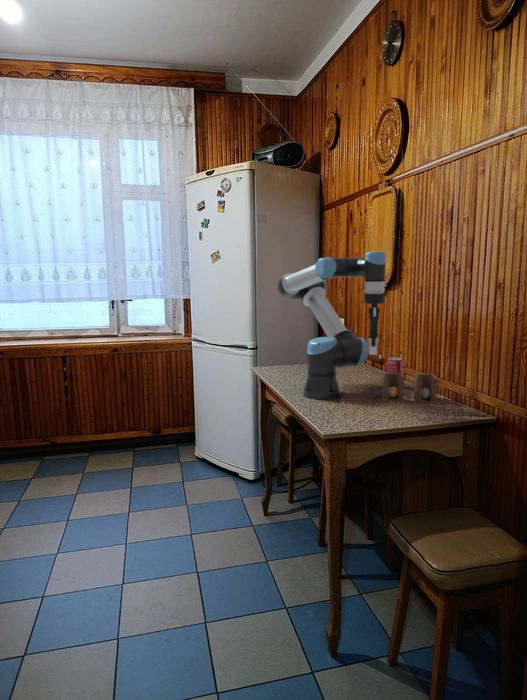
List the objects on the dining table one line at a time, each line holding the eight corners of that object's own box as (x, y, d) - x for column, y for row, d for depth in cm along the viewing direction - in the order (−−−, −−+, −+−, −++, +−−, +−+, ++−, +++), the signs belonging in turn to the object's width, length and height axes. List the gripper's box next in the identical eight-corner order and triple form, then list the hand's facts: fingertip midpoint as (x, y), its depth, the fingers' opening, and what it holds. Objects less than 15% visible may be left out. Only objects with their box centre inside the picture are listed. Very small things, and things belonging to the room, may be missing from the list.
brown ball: (367, 346, 180) (367, 335, 179) (367, 345, 184) (367, 333, 183) (379, 346, 179) (379, 335, 178) (378, 345, 183) (378, 334, 182)
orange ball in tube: (387, 398, 181) (387, 387, 180) (386, 395, 185) (386, 385, 185) (399, 399, 180) (399, 388, 180) (398, 396, 185) (398, 385, 184)
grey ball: (419, 400, 179) (420, 388, 178) (418, 397, 183) (418, 386, 182) (431, 400, 178) (432, 389, 177) (429, 397, 182) (430, 386, 182)
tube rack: (382, 402, 180) (383, 376, 179) (381, 397, 187) (382, 372, 186) (437, 404, 177) (438, 378, 175) (434, 399, 184) (435, 374, 182)
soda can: (403, 390, 198) (404, 360, 196) (385, 389, 199) (386, 359, 197) (401, 386, 205) (402, 357, 203) (384, 385, 206) (385, 356, 204)
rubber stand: (367, 400, 183) (368, 389, 183) (367, 398, 186) (367, 387, 186) (375, 400, 183) (376, 389, 182) (375, 398, 186) (375, 387, 185)
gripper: (386, 294, 169) (384, 357, 173) (383, 292, 186) (381, 350, 189) (364, 294, 170) (363, 357, 174) (364, 292, 187) (362, 349, 191)
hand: (372, 353), depth 182 cm, fingers closed on brown ball, 4 cm apart
